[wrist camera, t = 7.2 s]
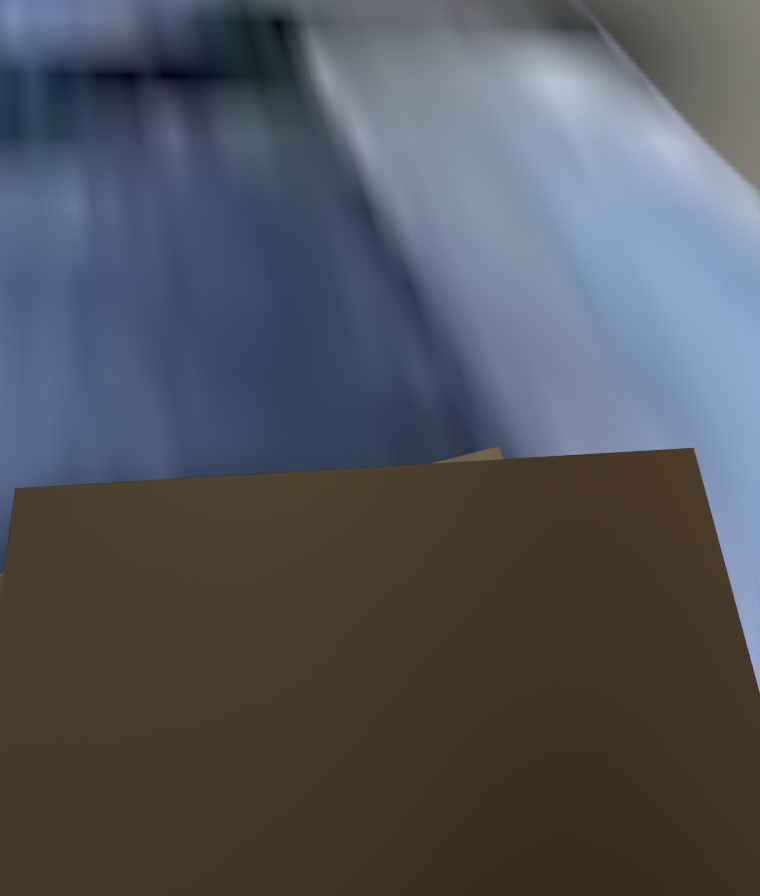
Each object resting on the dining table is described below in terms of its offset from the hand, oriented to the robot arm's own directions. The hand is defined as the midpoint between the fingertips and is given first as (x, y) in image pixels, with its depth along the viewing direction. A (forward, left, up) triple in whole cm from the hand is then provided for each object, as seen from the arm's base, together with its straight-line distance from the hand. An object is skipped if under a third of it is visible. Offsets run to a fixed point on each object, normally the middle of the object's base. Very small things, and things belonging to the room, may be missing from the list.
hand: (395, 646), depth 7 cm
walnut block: (-1, -1, -6) cm, 6 cm away
